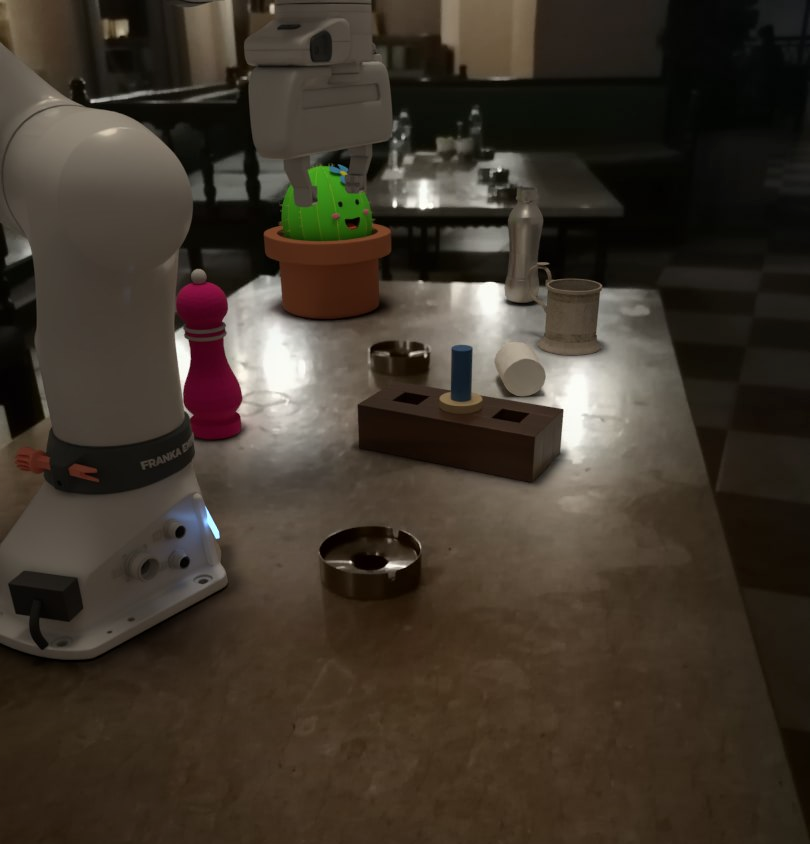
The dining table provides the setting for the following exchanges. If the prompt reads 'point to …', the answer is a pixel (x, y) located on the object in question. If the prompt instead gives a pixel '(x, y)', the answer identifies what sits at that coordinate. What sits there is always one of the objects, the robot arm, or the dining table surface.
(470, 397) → the peg
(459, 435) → the stand
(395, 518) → the dining table surface
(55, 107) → the robot arm
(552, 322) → the mug
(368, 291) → the potted cactus
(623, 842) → the dining table surface
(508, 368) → the roll
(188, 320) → the pepper mill
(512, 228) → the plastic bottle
